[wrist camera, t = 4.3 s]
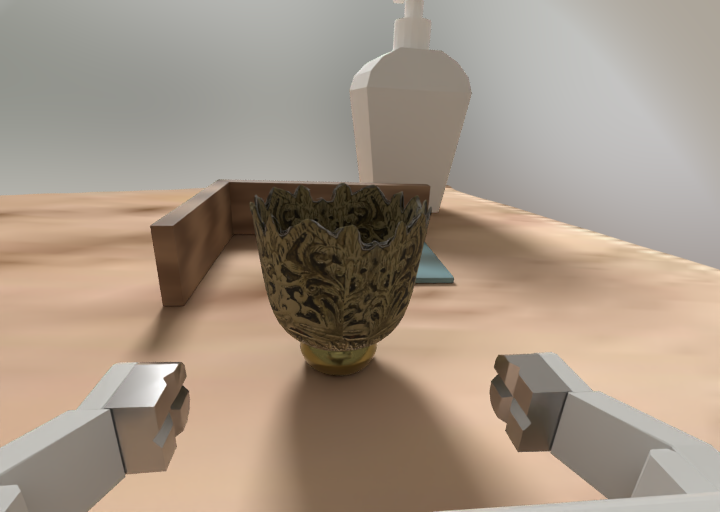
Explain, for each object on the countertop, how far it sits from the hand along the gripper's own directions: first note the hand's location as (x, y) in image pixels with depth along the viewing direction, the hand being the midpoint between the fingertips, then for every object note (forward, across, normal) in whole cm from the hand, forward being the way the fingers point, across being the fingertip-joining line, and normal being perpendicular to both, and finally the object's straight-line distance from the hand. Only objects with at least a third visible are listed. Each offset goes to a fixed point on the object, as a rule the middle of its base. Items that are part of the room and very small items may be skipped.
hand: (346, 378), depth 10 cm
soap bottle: (+41, -10, +5) cm, 42 cm away
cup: (+8, 0, +5) cm, 9 cm away
